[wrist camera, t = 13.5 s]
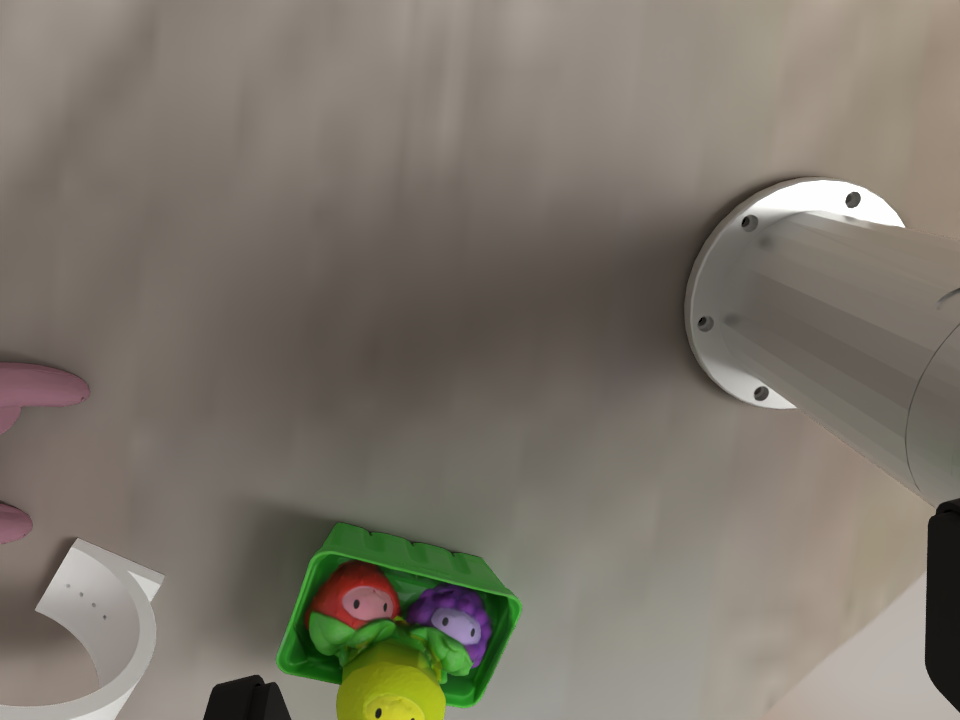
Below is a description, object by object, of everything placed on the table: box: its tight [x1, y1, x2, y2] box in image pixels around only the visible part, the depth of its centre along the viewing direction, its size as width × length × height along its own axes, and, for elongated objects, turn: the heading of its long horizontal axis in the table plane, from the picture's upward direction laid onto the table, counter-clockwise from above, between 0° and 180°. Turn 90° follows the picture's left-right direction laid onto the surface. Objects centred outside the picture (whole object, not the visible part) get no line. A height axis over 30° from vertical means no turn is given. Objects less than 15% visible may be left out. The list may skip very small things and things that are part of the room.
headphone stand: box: [0, 538, 165, 720], centre depth 35 cm, size 5×6×12 cm
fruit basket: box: [276, 523, 522, 720], centre depth 37 cm, size 11×9×11 cm
